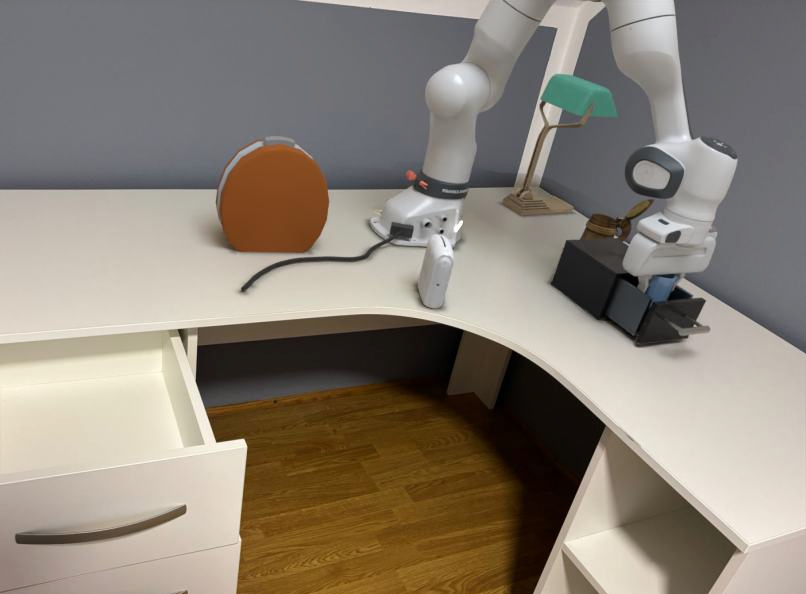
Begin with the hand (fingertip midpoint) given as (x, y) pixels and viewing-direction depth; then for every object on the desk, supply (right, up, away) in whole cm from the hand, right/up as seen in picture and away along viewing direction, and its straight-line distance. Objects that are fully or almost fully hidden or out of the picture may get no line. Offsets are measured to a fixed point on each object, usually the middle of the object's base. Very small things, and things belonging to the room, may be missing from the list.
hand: (654, 291), depth 139 cm
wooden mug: (0, +9, +31) cm, 32 cm away
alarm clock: (-78, +11, +10) cm, 80 cm away
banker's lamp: (-7, +28, +60) cm, 66 cm away
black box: (-6, -1, +13) cm, 15 cm away
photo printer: (-45, -1, +1) cm, 45 cm away
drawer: (0, -8, +2) cm, 8 cm away
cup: (0, -2, +1) cm, 2 cm away
